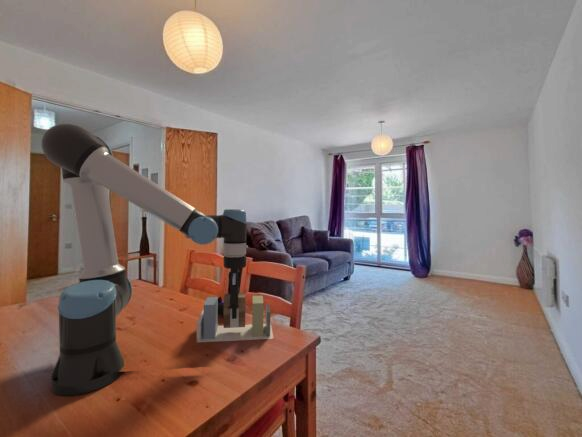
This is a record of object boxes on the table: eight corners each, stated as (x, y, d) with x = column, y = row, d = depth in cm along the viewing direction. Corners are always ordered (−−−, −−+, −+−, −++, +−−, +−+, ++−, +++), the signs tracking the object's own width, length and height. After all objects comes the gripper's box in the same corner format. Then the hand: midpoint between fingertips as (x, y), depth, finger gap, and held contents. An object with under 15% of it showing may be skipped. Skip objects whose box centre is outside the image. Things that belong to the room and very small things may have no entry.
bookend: (270, 336, 94) (270, 312, 93) (267, 336, 93) (267, 312, 93) (268, 325, 102) (268, 303, 102) (265, 325, 102) (265, 303, 102)
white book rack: (273, 343, 92) (273, 320, 92) (196, 347, 89) (196, 323, 89) (270, 327, 104) (271, 307, 104) (202, 330, 101) (203, 309, 100)
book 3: (263, 336, 94) (263, 303, 93) (252, 336, 93) (252, 303, 93) (262, 326, 102) (262, 295, 101) (252, 326, 101) (252, 295, 101)
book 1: (214, 338, 92) (214, 304, 91) (203, 339, 91) (203, 305, 91) (217, 328, 99) (217, 296, 99) (207, 328, 99) (207, 297, 99)
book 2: (245, 326, 95) (245, 297, 94) (223, 327, 94) (223, 297, 93) (245, 321, 99) (245, 293, 99) (224, 322, 98) (224, 293, 98)
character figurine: (219, 312, 120) (245, 320, 111) (205, 316, 114) (231, 325, 105) (220, 293, 120) (247, 300, 111) (206, 296, 114) (233, 304, 105)
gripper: (245, 259, 87) (245, 334, 88) (246, 251, 105) (246, 313, 105) (220, 260, 86) (220, 336, 87) (225, 251, 104) (225, 314, 104)
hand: (234, 323), depth 96 cm, fingers closed on book 2, 4 cm apart
